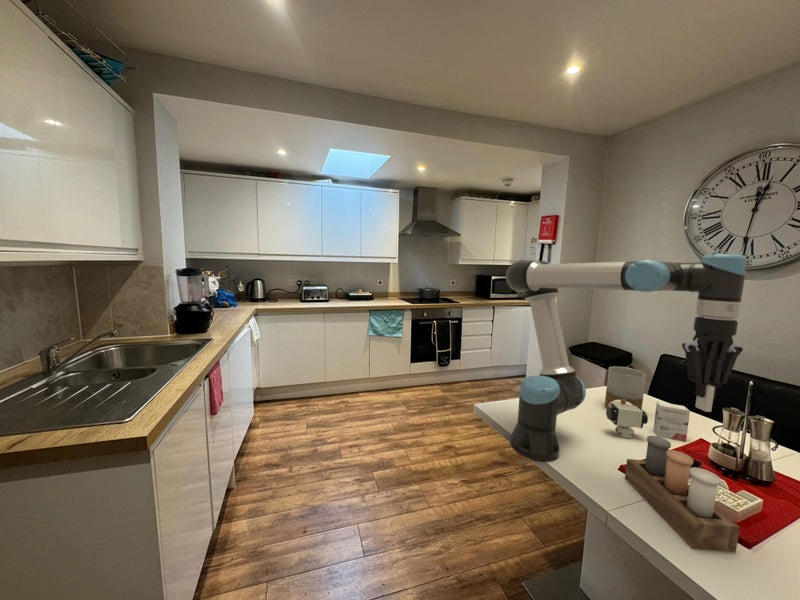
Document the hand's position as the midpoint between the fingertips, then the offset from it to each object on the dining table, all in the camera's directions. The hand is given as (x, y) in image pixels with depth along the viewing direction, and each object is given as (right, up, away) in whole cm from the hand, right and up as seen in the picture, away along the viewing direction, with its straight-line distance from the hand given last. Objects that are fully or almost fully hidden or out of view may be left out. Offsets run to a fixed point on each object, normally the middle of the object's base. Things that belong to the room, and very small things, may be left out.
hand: (703, 409), depth 80 cm
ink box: (+23, -23, +37) cm, 49 cm away
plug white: (-8, -21, -7) cm, 24 cm away
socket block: (-8, -26, 0) cm, 27 cm away
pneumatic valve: (+5, -22, +36) cm, 43 cm away
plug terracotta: (-8, -20, -1) cm, 22 cm away
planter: (+19, -21, +57) cm, 63 cm away
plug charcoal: (-7, -20, +6) cm, 22 cm away
